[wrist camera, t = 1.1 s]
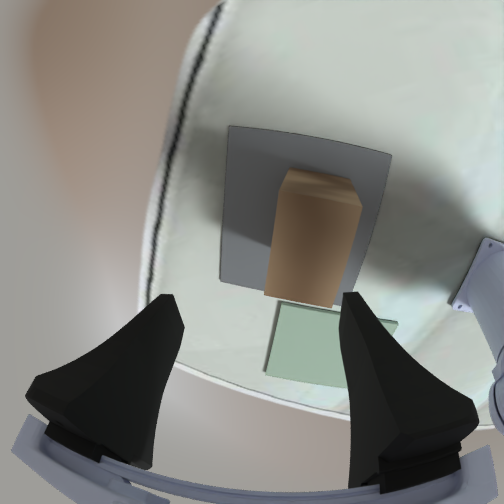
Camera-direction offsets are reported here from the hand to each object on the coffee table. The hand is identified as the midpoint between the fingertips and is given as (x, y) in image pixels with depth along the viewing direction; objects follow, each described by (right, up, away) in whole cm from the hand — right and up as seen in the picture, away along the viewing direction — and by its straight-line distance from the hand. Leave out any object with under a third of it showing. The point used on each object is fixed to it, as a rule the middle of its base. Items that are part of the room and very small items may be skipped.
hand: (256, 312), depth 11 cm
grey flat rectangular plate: (+3, +5, +10) cm, 12 cm away
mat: (+8, -8, +17) cm, 20 cm away
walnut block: (+4, +5, +9) cm, 12 cm away
